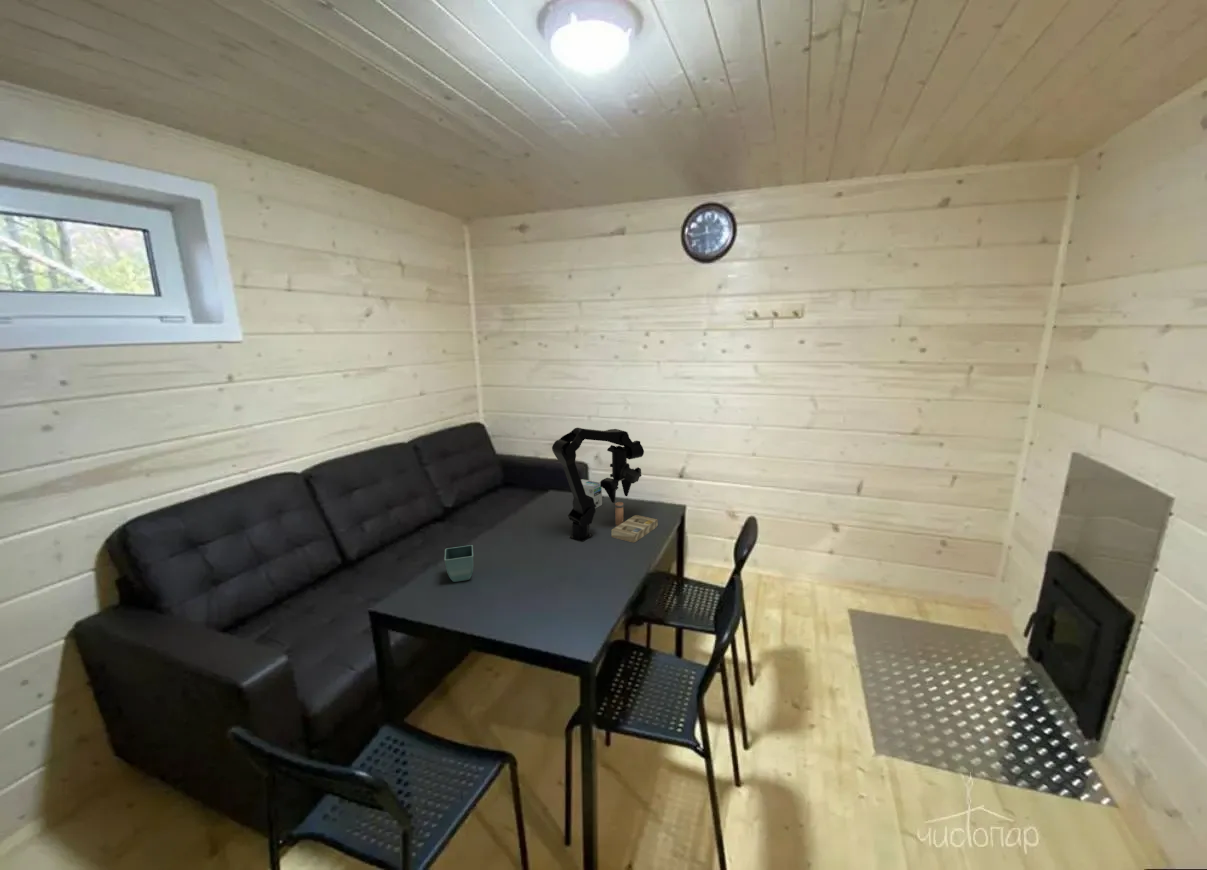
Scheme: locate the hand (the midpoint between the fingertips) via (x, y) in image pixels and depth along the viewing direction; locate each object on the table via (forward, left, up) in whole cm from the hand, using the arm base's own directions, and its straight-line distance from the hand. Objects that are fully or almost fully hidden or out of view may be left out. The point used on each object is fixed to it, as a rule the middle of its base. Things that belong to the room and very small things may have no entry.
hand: (619, 499), depth 202 cm
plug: (0, 0, -11) cm, 11 cm away
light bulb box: (+12, +24, -11) cm, 29 cm away
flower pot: (-64, +20, -11) cm, 68 cm away
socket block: (-3, -9, -11) cm, 14 cm away
